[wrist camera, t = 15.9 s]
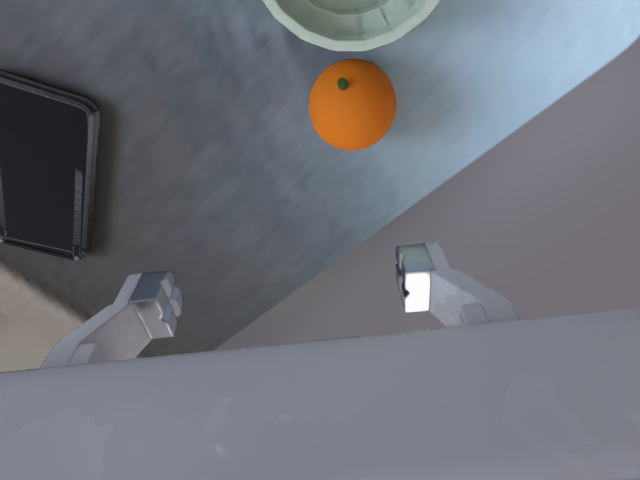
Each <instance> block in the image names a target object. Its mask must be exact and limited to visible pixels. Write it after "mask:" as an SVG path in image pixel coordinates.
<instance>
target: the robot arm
mask: <svg viewBox="0 0 640 480" xmlns="http://www.w3.org/2000/svg"><path fill="white" fill-rule="evenodd" d="M396 258H397V262H398V263H397V264H396V277H397V283H398V288H399V291H401V299H402V303H403V306H404V310H405V312H417V311H429V312H430V313H431V314H433V315H434V316H435V317H436V318H437V319H438V320H439V321H441V322H442V323H443V324H444V325H445V326H446V327H444V328H434V329H424V330H414V331H404V332H394V333H384V334H374V335H364V336H355V337H345V338H335V339H325V340H315V341H306V342H295V343H285V344H276V345H266V346H256V347H246V348H236V349H226V350H216V351H206V352H196V353H186V354H176V355H167V356H157V357H147V358H137V359H134V358H135V357H136V356H137V355H138V354H139V353H140V351H141V350H142V349H143V348H144V347H145V346H146V345H147V344H148V343H149V342H150V341H151V339H156V338H164V337H172V336H174V334H175V331H176V328H177V325H178V320H177V318H176V317H178V316H179V315H180V314H181V313H182V309H183V295H182V292H181V289H180V288H179V287H178V286H176V285H175V281H176V277H175V275H174V273H173V272H172V271H160V272H149V273H139V274H131V275H129V276H128V277H127V279H126V281H125V283H124V285H123V287H122V288H121V290H120V292H119V294H118V296H117V298H116V300H115V302H114V304H113V305H109V306H107V307H106V308H104V309H103V310H102V311H100V312H99V313H98V314H96V315H95V316H93V317H92V318H91V319H89V320H88V321H87V322H85V323H84V324H82V325H81V326H80V327H78V328H77V329H76V330H74V331H73V332H71V333H70V334H69V335H67V336H66V337H65V338H63V339H62V340H60V341H59V342H58V343H56V344H55V345H54V346H53V347H52V349H51V350H50V352H49V353H48V355H47V357H46V358H45V360H44V362H43V363H42V365H41V366H40V368H38V369H28V370H18V371H9V372H0V480H640V309H637V308H631V309H620V310H610V311H600V312H591V313H581V314H572V315H562V316H553V317H542V318H532V319H522V320H521V319H520V318H519V316H518V314H517V312H516V311H515V309H514V307H513V306H512V304H511V302H510V300H509V299H508V298H506V297H504V296H502V295H501V294H499V293H497V292H496V291H494V290H492V289H490V288H489V287H487V286H485V285H483V284H482V283H480V282H478V281H477V280H475V279H473V278H471V277H470V276H468V275H466V274H465V273H463V272H461V271H459V270H457V269H456V268H454V269H452V268H451V266H450V264H449V262H448V260H447V258H446V255H445V253H444V251H443V249H442V246H441V244H440V242H439V241H432V242H425V243H421V244H412V245H403V246H396Z"/></svg>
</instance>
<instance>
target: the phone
mask: <svg viewBox="0 0 640 480" xmlns="http://www.w3.org/2000/svg"><path fill="white" fill-rule="evenodd" d="M99 125H100V112H99V110H98V108H97V106H96V105H95V104H94V103H93V102H92V101H91V100H90V99H87V98H85V97H83V96H79V95H76V94H73V93H70V92H67V91H64V90H61V89H58V88H54V87H51V86H48V85H45V84H42V83H39V82H36V81H33V80H29V79H26V78H23V77H20V76H17V75H14V74H11V73H8V72H4V71H0V242H1V243H4V244H8V245H12V246H16V247H20V248H24V249H29V250H33V251H37V252H41V253H45V254H49V255H53V256H58V257H62V258H66V259H70V260H81V259H83V258H84V257H85V255H86V254H87V253H88V251H89V250H90V247H91V237H92V223H93V209H94V195H95V181H96V167H97V153H98V139H99Z"/></svg>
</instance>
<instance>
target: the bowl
mask: <svg viewBox="0 0 640 480" xmlns="http://www.w3.org/2000/svg"><path fill="white" fill-rule="evenodd" d="M263 2H264V3H265V5H266V6H267V8H268V9H269V10H270V12H271V13H272V15H273V16H274V18H276V20H277V21H279V22H280V23H281V24H283V25H284V26H285V27H286V28H288V29H289V30H290V31H292V32H293V33H294V34H295V35H297V36H298V37H299V38H301V39H302V40H304V41H306V42H309V43H312V44H315V45H317V46H320V47H323V48H326V49H329V50H332V51H368V50H371V49H374V48H377V47H379V46H382V45H385V44H388V43H391V42H394V41H396V40H398V39H400V38H401V37H402V36H404V35H405V34H406V33H408V32H409V31H411V30H412V29H413V28H415V27H416V26H417V25H419V24H420V23H421V22H423V21H424V20H425V19H426V18H427V17H428V16H429V15H430V13H431V12H432V11H433V9H434V8H435V7H436V6H437V4H438V3H439V2H440V0H263Z"/></svg>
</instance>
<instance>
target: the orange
mask: <svg viewBox="0 0 640 480" xmlns="http://www.w3.org/2000/svg"><path fill="white" fill-rule="evenodd" d="M308 108H309V115H310V120H311V122H312V125H313V127H314V129H315V130H316V132H317V133H318V135H319V136H320V137H321V138H322V139H323V140H324V141H325V142H327V143H328V144H330V145H332V146H334V147H336V148H339V149H342V150H360V149H364V148H367V147H369V146H371V145H373V144H374V143H376V142H377V141H379V140H380V139H381V138H382V137H383V136H384V135H385V133H386V132H387V131H388V129H389V127H390V126H391V124H392V121H393V118H394V115H395V109H396V99H395V93H394V89H393V86H392V84H391V82H390V80H389V79H388V77H387V76H386V75H385V73H384V72H383V71H382V70H381V69H379V68H378V67H377V66H375V65H374V64H372V63H370V62H367V61H364V60H359V59H347V60H342V61H339V62H336V63H334V64H332V65H331V66H329V67H328V68H326V69H325V70H324V71H323V72H322V73H321V74H320V75H319V76H318V78H317V79H316V81H315V83H314V85H313V87H312V89H311V92H310V96H309V105H308Z"/></svg>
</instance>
